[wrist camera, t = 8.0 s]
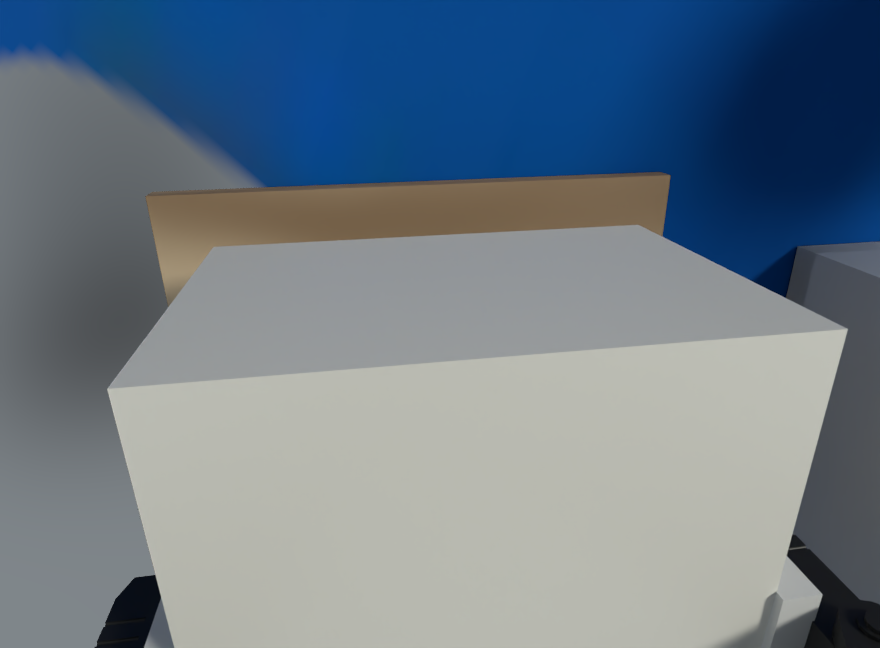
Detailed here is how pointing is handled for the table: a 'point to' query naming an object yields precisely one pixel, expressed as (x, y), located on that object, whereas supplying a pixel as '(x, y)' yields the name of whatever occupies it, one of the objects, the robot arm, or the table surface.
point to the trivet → (393, 212)
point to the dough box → (845, 415)
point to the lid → (473, 443)
